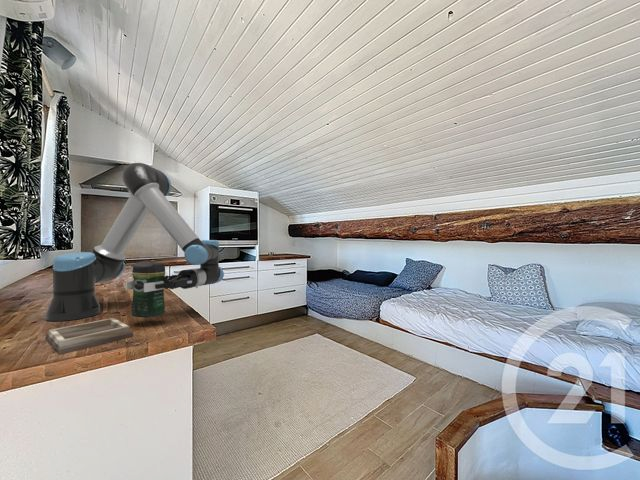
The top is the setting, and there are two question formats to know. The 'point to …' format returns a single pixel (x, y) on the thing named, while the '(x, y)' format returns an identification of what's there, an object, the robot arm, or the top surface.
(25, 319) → the top surface
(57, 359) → the top surface
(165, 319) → the top surface
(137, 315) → the coffee jar
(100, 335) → the board
